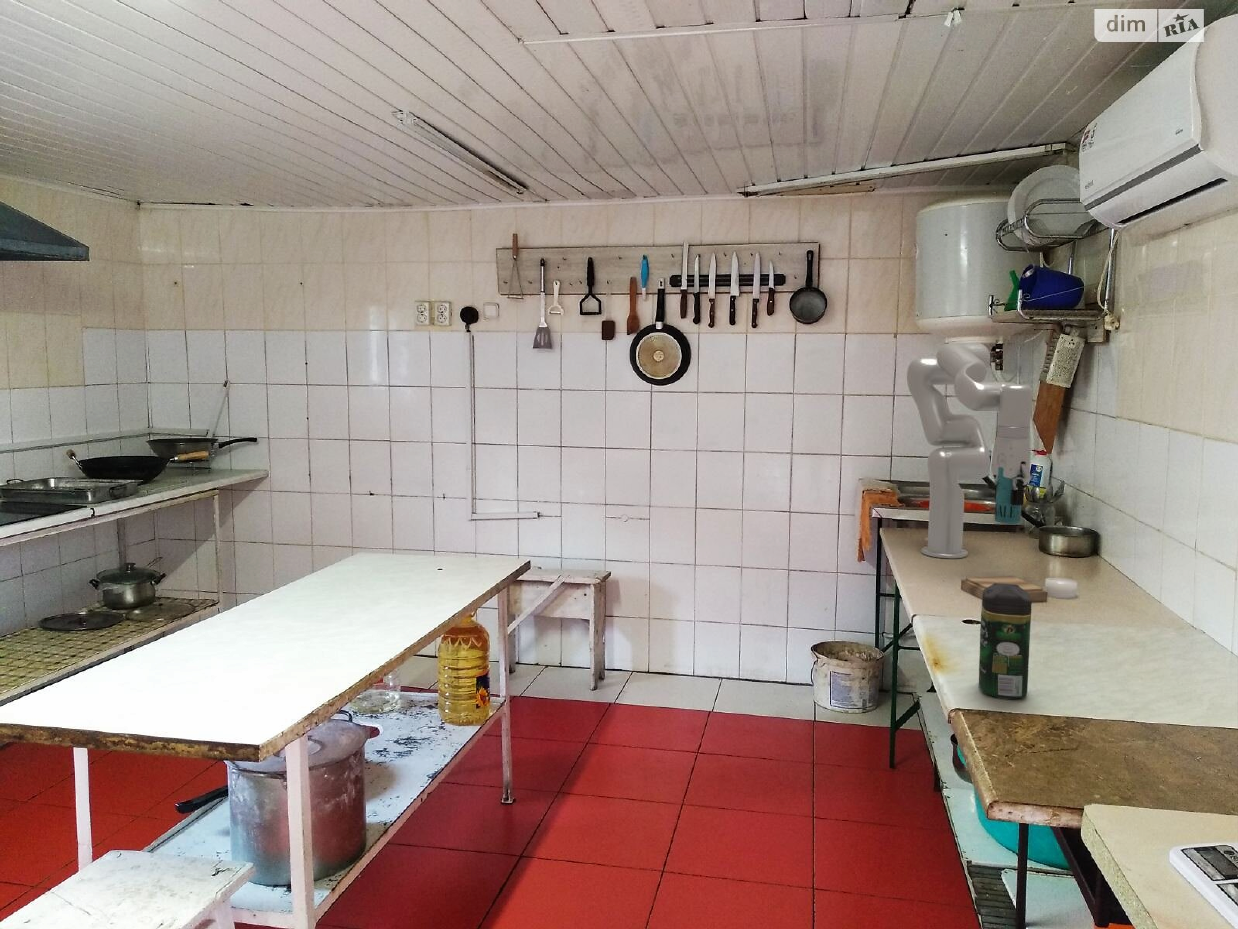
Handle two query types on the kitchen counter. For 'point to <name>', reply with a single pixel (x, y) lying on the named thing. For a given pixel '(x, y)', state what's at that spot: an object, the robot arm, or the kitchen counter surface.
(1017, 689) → the coffee jar
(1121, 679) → the kitchen counter surface
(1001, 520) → the beverage bottle
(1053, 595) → the white soap bar
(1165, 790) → the kitchen counter surface
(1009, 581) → the riser
